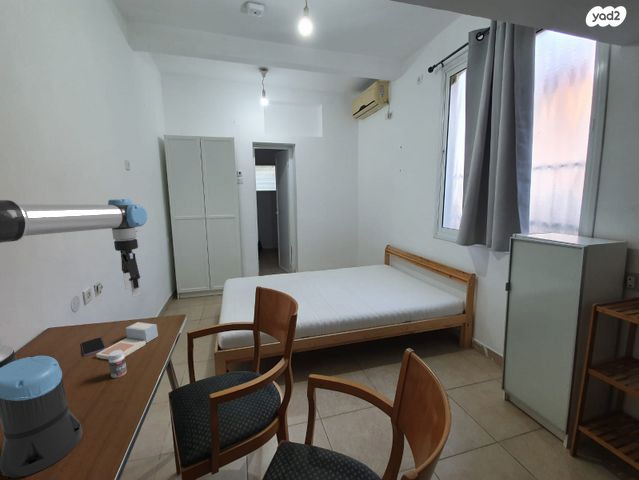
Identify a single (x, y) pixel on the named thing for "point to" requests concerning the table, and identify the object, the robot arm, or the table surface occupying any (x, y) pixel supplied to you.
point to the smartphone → (92, 346)
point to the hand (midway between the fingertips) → (133, 291)
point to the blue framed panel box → (142, 331)
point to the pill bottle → (117, 364)
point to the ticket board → (122, 347)
